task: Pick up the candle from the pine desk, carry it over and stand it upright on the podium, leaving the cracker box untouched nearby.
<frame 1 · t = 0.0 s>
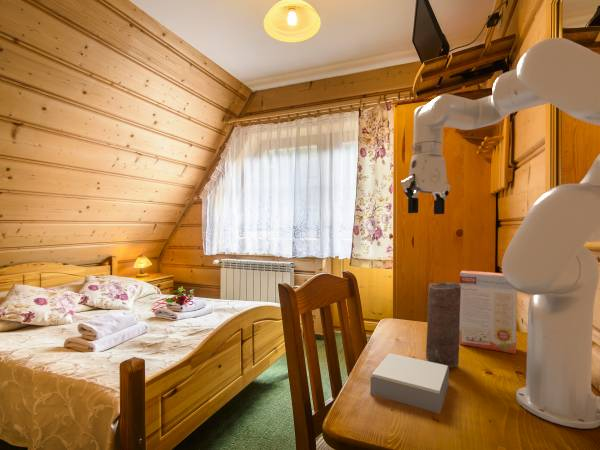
hand: (426, 213, 91), 37 cm above the table, tool pointing down, fingers open, 9 cm apart
podium: (410, 388, 68), on the table
candle: (442, 366, 80), on the table
cracker box: (486, 346, 94), on the table
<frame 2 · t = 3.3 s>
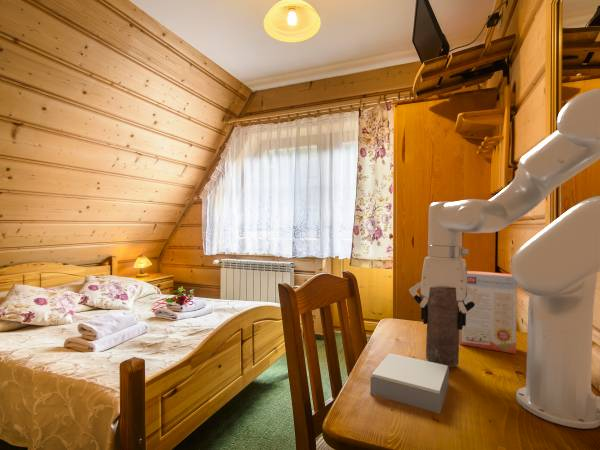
hand: (442, 325, 80), 10 cm above the table, tool pointing down, fingers closed on candle, 7 cm apart
candle: (442, 366, 80), on the table, touching gripper
everything else where it was.
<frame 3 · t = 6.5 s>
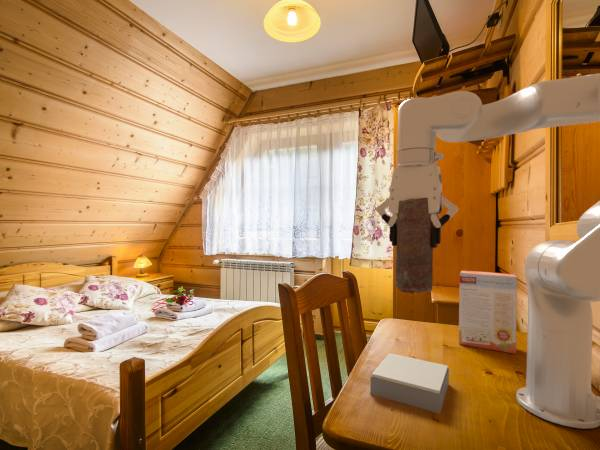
hand: (414, 245, 68), 30 cm above the table, tool pointing down, fingers closed on candle, 7 cm apart
candle: (413, 293, 69), point 20 cm above the table, touching gripper
everything else where it was.
when the fingers open (15 cm above the table, at t = 9.8 s): candle drops 1 cm, resting on podium.
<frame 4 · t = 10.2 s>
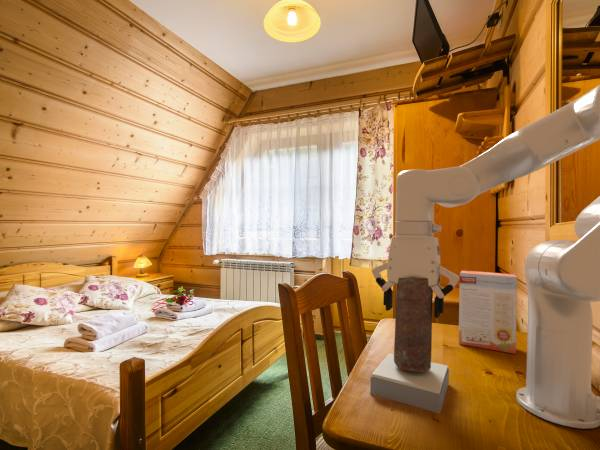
hand: (412, 312, 68), 16 cm above the table, tool pointing down, fingers open, 9 cm apart
candle: (412, 370, 68), point 4 cm above the table, touching podium
everything else where it was.
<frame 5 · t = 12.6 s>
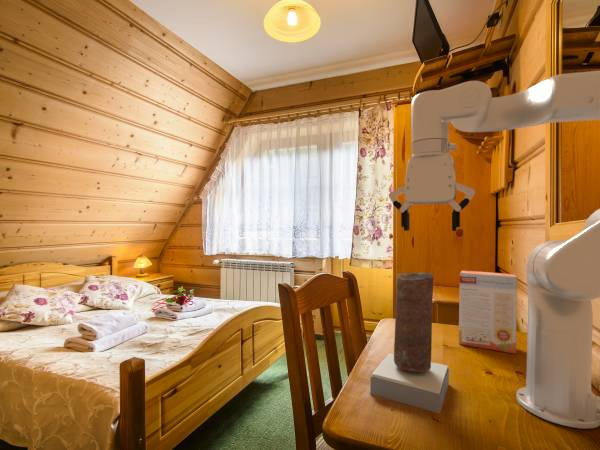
hand: (429, 230, 71), 33 cm above the table, tool pointing down, fingers open, 9 cm apart
nothing on the table moved.
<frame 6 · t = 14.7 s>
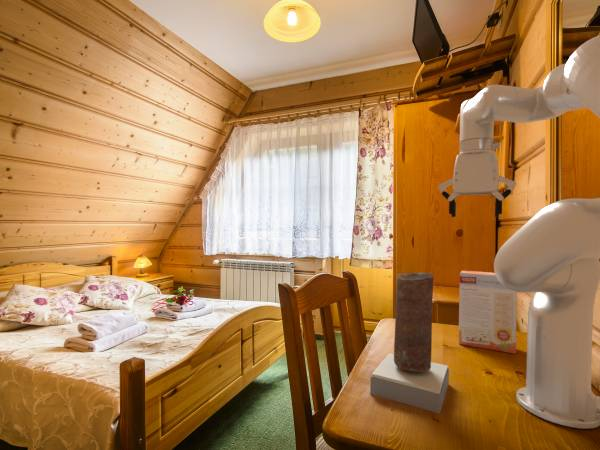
hand: (474, 217, 83), 36 cm above the table, tool pointing down, fingers open, 9 cm apart
nothing on the table moved.
at the end: candle inside the target area on the podium (0.2 cm from its centre), point 3.8 cm above the podium's base; candle tilted 0°; the gripper is holding nothing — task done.
